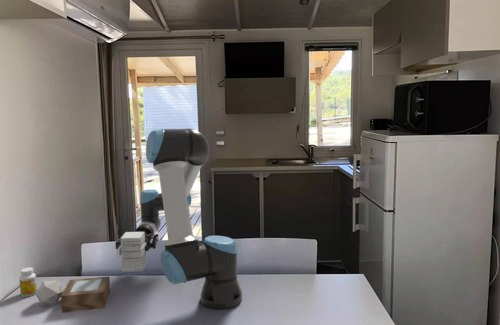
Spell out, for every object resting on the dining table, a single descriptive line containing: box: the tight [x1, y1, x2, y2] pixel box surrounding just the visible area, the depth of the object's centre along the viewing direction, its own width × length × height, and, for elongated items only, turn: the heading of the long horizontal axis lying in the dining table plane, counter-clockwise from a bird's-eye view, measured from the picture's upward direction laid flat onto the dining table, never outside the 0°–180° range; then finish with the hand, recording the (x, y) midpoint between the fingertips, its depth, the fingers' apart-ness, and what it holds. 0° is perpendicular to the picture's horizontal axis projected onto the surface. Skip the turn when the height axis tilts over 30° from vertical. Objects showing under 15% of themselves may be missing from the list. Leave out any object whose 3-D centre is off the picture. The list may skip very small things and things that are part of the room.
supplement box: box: [120, 231, 147, 272], centre depth 143 cm, size 7×7×13 cm
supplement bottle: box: [18, 266, 38, 298], centre depth 147 cm, size 5×5×10 cm
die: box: [34, 280, 65, 305], centre depth 140 cm, size 8×9×10 cm
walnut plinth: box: [60, 276, 111, 313], centre depth 141 cm, size 14×13×6 cm
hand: (129, 252), depth 138 cm, fingers closed on supplement box, 7 cm apart
